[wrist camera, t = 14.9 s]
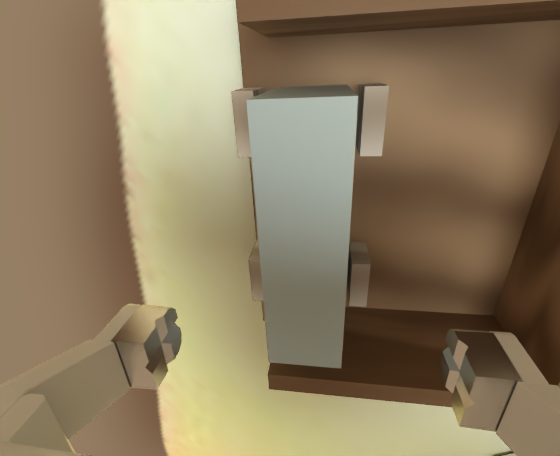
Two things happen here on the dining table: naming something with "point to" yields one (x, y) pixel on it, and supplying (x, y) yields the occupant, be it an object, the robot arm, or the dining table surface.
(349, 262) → the wooden box
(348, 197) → the grey box with stripe
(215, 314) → the dining table surface
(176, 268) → the dining table surface
